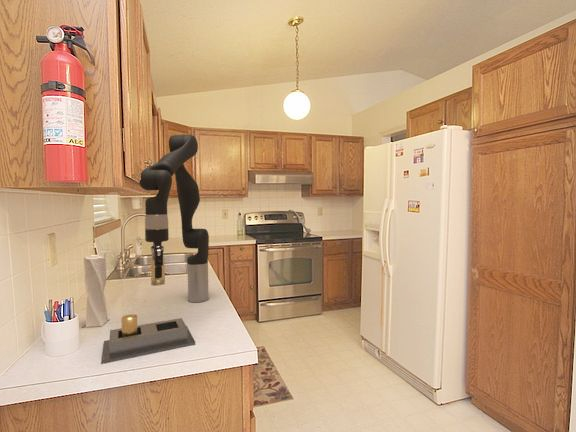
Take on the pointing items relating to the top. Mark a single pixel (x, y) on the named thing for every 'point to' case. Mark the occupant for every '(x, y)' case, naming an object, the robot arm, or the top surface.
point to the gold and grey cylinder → (154, 280)
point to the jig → (145, 338)
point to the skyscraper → (95, 290)
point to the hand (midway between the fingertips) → (157, 276)
